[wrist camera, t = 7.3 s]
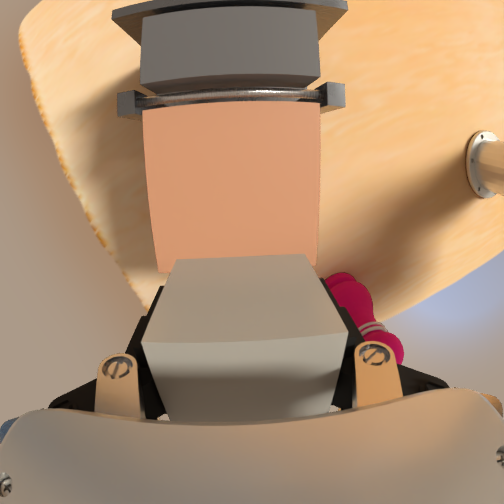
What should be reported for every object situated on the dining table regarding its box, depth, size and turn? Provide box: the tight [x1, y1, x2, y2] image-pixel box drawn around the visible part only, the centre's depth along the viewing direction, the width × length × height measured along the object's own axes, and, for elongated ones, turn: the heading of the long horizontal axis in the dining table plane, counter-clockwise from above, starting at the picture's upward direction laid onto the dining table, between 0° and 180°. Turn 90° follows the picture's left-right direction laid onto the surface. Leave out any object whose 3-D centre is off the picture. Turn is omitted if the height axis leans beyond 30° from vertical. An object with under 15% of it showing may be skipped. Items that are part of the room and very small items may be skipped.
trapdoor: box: [140, 6, 321, 273], centre depth 21 cm, size 14×22×5 cm, turn 1°
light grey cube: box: [141, 254, 348, 422], centre depth 10 cm, size 5×5×5 cm
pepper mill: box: [325, 273, 404, 365], centre depth 34 cm, size 7×7×20 cm
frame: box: [112, 0, 348, 121], centre depth 26 cm, size 19×25×16 cm
